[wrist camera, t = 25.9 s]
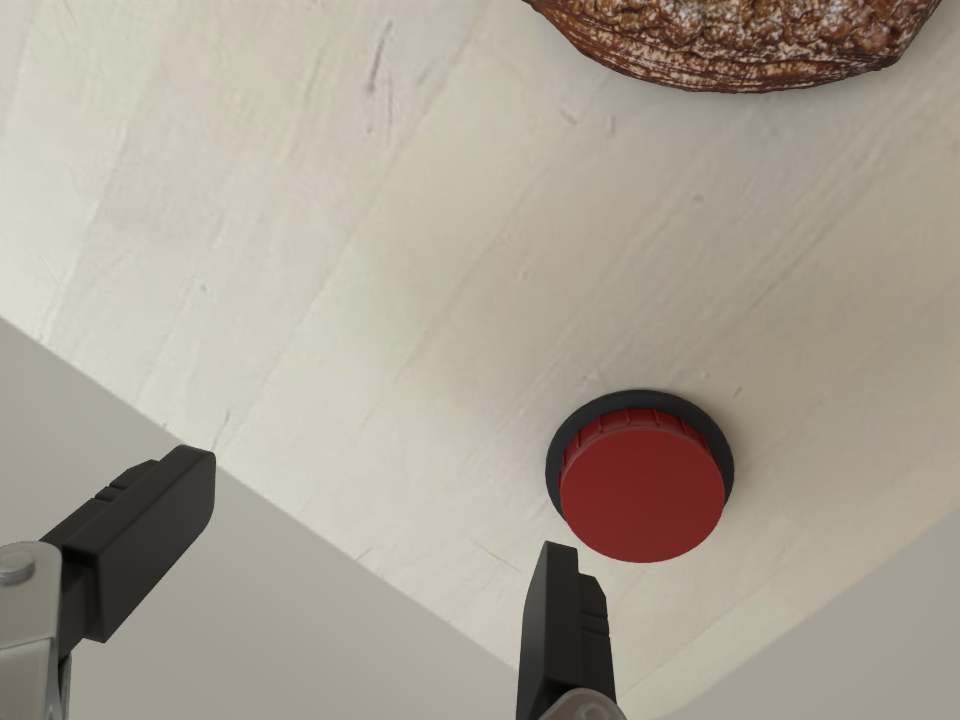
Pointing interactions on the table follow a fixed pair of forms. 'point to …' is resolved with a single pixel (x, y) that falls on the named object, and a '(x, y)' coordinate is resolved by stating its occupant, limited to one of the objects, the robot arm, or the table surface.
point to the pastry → (739, 39)
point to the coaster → (637, 401)
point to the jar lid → (640, 486)
